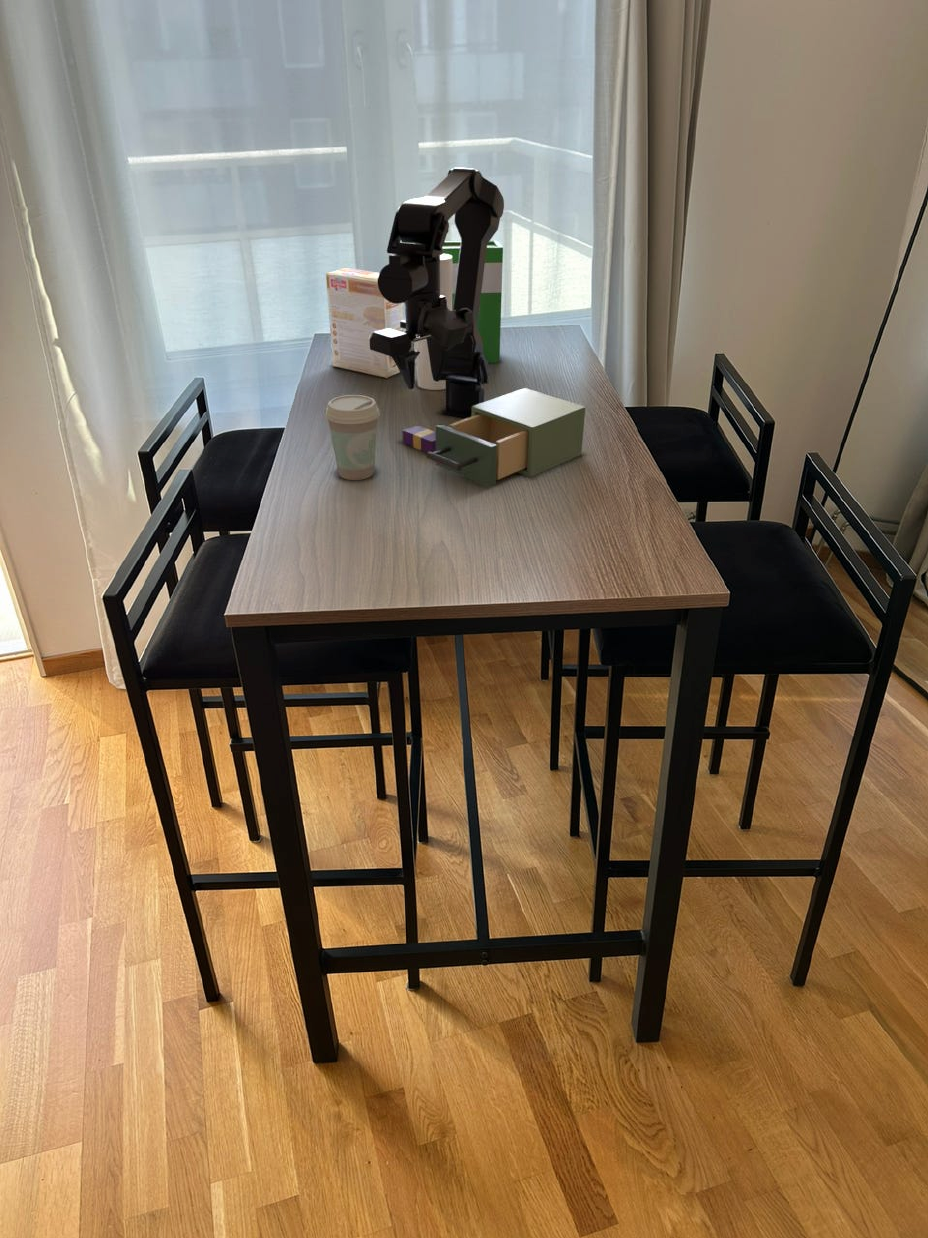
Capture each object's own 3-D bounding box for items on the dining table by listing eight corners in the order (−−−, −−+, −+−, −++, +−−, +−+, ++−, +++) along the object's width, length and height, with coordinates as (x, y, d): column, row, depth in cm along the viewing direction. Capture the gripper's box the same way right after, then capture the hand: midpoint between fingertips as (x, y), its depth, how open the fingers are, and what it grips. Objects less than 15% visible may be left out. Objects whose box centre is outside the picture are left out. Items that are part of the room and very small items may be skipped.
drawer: (469, 496, 137) (469, 455, 134) (414, 473, 144) (413, 433, 141) (541, 465, 148) (544, 426, 144) (487, 444, 155) (488, 407, 151)
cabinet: (530, 477, 146) (533, 427, 141) (470, 454, 154) (471, 406, 149) (581, 454, 154) (585, 406, 149) (522, 433, 162) (524, 387, 157)
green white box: (420, 364, 195) (418, 248, 182) (417, 354, 201) (415, 241, 188) (499, 362, 197) (503, 247, 184) (494, 352, 203) (497, 240, 190)
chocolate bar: (447, 449, 155) (447, 435, 154) (431, 454, 153) (431, 441, 152) (417, 437, 160) (417, 424, 158) (402, 443, 158) (402, 429, 156)
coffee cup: (341, 487, 142) (336, 415, 135) (322, 468, 148) (317, 398, 141) (390, 477, 145) (387, 406, 138) (370, 459, 151) (366, 390, 145)
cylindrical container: (456, 380, 186) (457, 254, 173) (445, 391, 181) (444, 261, 167) (425, 376, 188) (423, 251, 174) (412, 387, 182) (409, 258, 169)
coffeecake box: (406, 370, 192) (403, 275, 181) (386, 378, 187) (382, 282, 176) (351, 358, 199) (346, 266, 188) (331, 366, 194) (324, 272, 183)
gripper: (413, 308, 132) (415, 410, 140) (498, 288, 143) (496, 383, 151) (364, 295, 138) (369, 393, 147) (450, 276, 149) (449, 368, 158)
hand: (423, 384), depth 150 cm, fingers open, 6 cm apart
